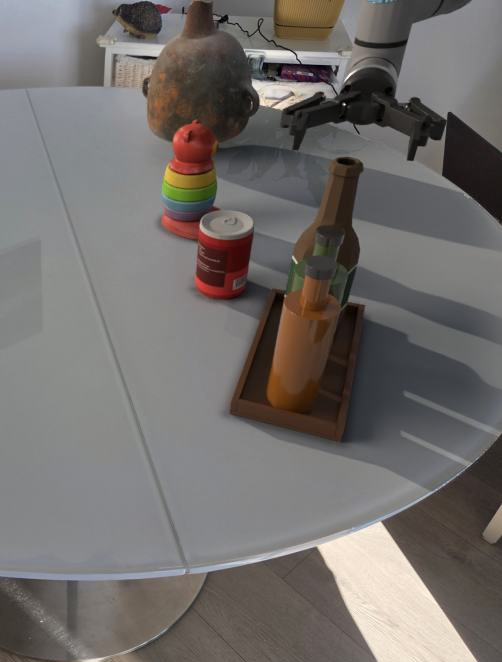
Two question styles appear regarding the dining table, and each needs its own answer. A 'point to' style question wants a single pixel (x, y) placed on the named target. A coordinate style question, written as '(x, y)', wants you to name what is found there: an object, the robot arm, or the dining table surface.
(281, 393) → the amber bottle
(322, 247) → the green bottle
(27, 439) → the dining table surface
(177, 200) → the stacking bear
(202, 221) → the canned food
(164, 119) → the jug
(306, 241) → the beer bottle
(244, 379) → the tray
